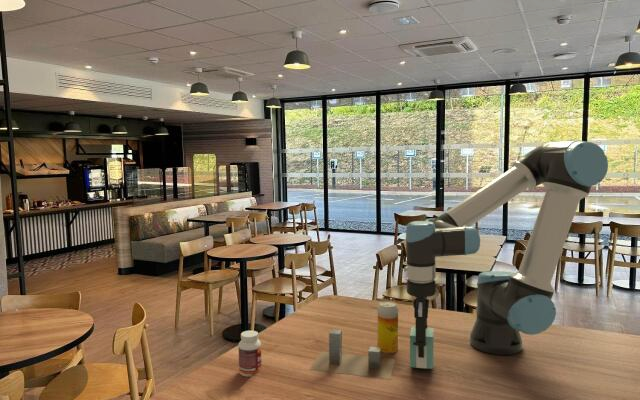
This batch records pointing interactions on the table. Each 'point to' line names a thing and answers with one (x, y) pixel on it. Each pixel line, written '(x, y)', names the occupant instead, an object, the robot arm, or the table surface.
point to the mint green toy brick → (428, 345)
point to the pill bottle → (249, 353)
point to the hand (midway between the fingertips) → (422, 361)
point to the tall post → (335, 347)
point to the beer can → (387, 327)
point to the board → (353, 366)
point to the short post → (374, 358)
